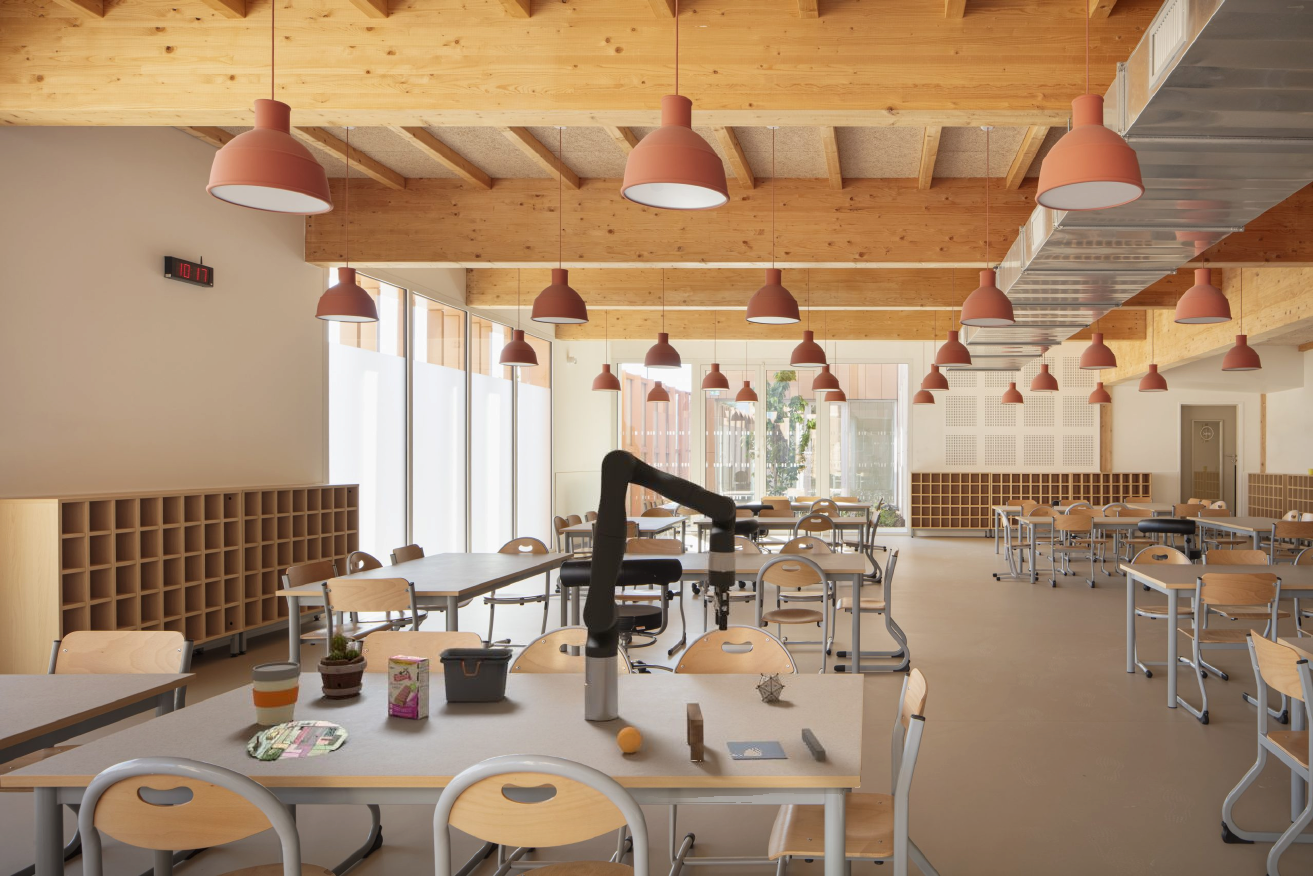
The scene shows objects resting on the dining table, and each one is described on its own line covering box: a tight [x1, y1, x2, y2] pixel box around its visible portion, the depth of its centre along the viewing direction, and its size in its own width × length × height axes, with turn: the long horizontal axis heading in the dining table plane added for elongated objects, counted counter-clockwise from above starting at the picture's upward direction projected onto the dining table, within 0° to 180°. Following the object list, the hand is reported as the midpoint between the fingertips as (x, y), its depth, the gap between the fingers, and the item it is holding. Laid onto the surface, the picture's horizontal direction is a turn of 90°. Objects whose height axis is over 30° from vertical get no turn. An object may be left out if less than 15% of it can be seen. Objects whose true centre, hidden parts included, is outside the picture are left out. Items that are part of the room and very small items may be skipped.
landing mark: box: [726, 740, 788, 760], centre depth 210 cm, size 13×13×1 cm
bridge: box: [686, 702, 705, 762], centre depth 210 cm, size 3×15×10 cm, turn 2°
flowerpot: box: [316, 631, 368, 700], centre depth 268 cm, size 14×15×20 cm
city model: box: [247, 720, 349, 761], centre depth 216 cm, size 25×23×6 cm
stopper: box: [801, 728, 826, 762], centre depth 210 cm, size 2×18×2 cm, turn 2°
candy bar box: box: [387, 654, 430, 720], centre depth 244 cm, size 11×5×16 cm, turn 65°
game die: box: [755, 672, 786, 702], centre depth 257 cm, size 9×8×10 cm
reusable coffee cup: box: [251, 661, 302, 726], centre depth 240 cm, size 12×12×15 cm
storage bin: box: [438, 647, 514, 703], centre depth 261 cm, size 21×16×14 cm
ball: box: [616, 726, 643, 754], centre depth 209 cm, size 6×6×6 cm
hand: (721, 627), depth 235 cm, fingers open, 8 cm apart
